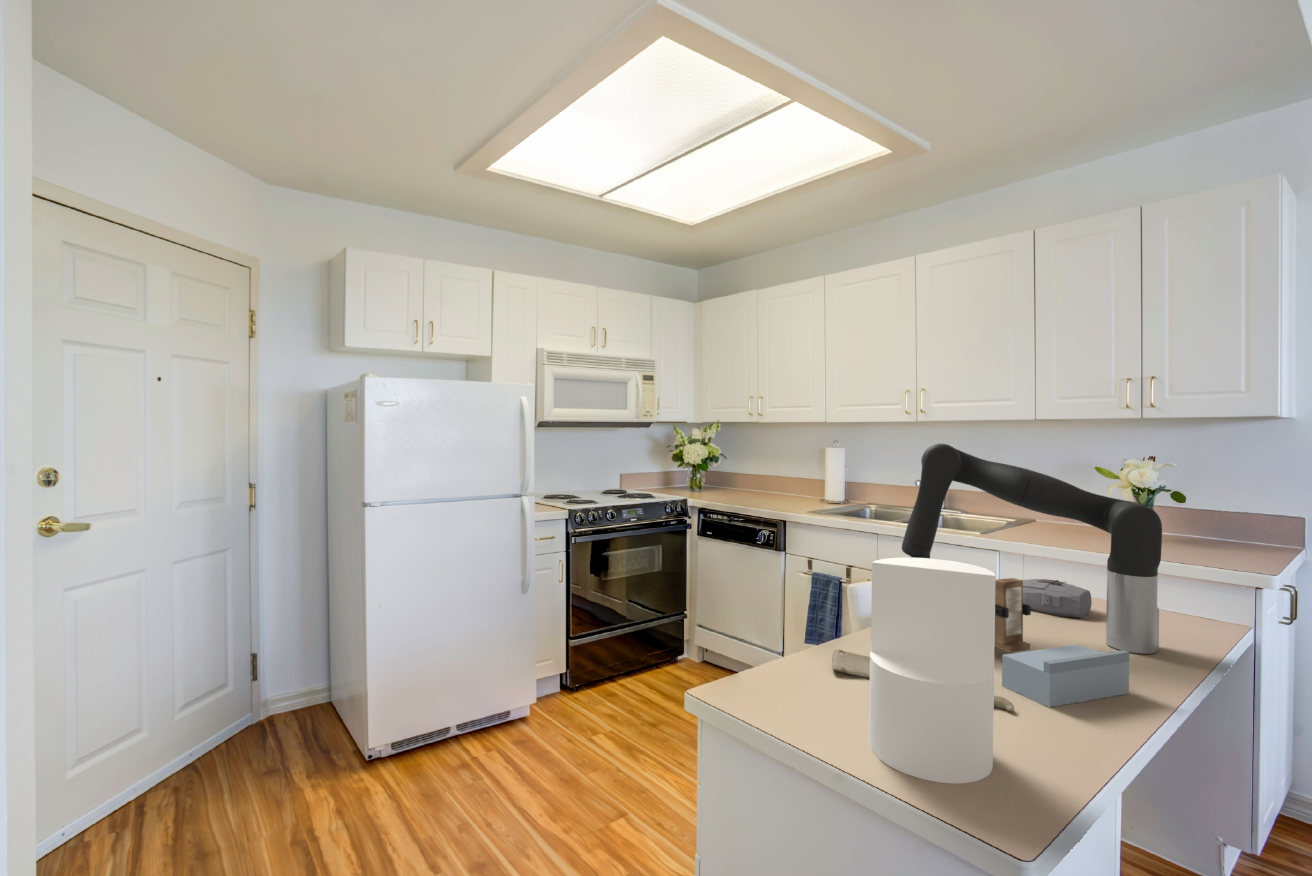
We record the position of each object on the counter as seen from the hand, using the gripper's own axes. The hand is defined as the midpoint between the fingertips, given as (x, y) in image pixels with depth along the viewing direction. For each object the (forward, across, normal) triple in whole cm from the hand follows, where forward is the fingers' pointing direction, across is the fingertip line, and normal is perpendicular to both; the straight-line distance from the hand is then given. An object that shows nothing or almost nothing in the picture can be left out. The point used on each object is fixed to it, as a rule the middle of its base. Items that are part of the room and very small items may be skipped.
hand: (1018, 611), depth 131 cm
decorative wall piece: (-3, -26, +12) cm, 28 cm away
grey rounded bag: (-31, +46, +12) cm, 56 cm away
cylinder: (+23, -44, +11) cm, 51 cm away
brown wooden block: (-3, 0, +8) cm, 8 cm away
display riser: (+12, -2, +11) cm, 17 cm away
